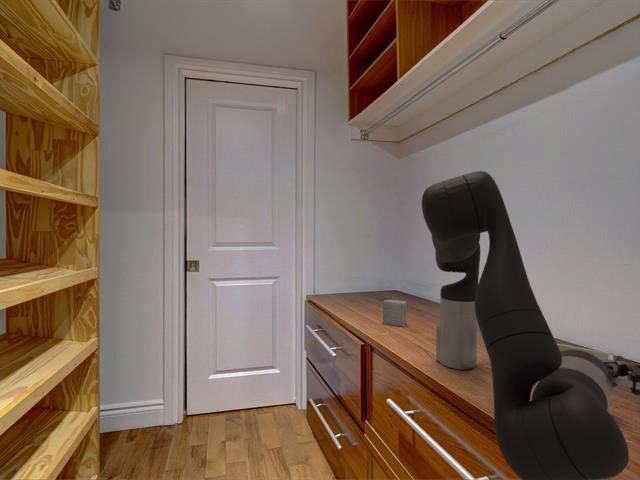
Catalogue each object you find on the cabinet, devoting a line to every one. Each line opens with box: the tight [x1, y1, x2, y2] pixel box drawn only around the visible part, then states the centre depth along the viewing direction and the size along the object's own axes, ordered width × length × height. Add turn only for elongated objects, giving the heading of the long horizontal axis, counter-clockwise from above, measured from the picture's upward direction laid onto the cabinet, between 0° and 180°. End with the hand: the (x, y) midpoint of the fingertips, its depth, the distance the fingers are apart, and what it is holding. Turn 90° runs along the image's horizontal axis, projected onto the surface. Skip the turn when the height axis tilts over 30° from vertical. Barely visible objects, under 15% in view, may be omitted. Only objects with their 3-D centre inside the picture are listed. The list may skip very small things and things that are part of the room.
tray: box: [556, 342, 615, 361], centre depth 93 cm, size 12×13×2 cm
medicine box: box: [382, 299, 408, 328], centre depth 132 cm, size 8×4×9 cm, turn 59°
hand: (585, 355), depth 59 cm, fingers open, 8 cm apart
